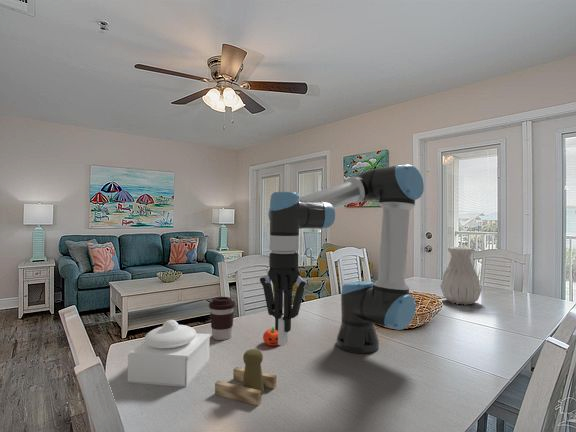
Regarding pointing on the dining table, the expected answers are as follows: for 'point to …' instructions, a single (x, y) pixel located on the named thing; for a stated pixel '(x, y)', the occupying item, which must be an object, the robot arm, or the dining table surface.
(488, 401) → the dining table surface
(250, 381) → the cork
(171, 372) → the butter dish
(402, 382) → the dining table surface
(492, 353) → the dining table surface
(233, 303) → the coffee cup
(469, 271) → the vase
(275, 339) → the pumpkin
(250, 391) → the pair of wooden strips
